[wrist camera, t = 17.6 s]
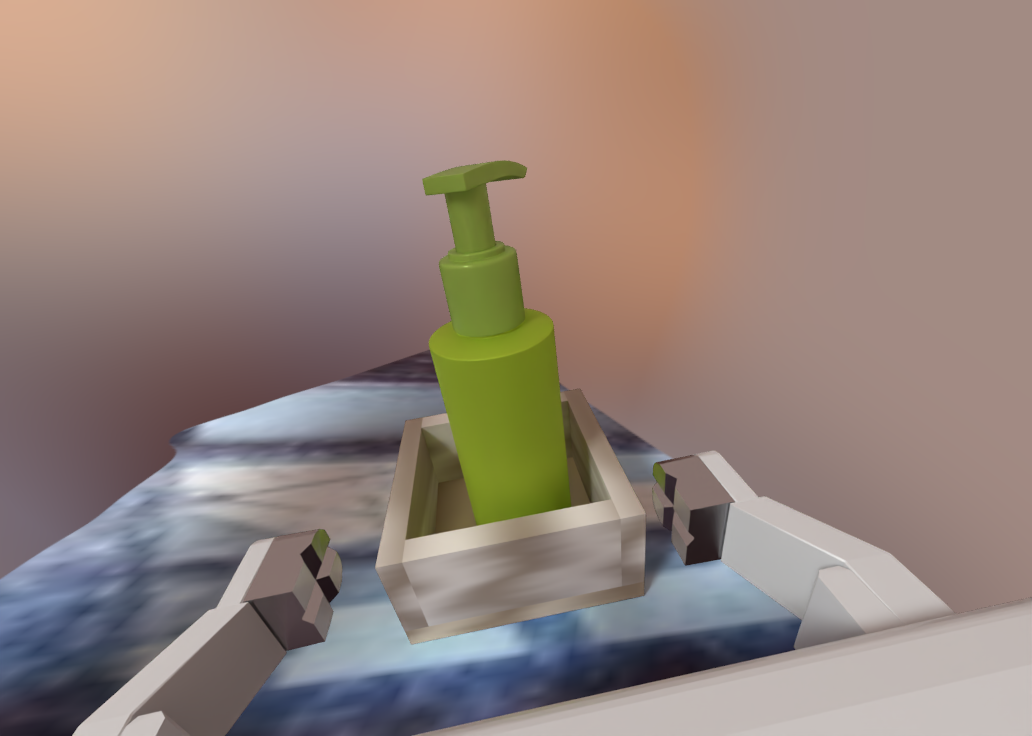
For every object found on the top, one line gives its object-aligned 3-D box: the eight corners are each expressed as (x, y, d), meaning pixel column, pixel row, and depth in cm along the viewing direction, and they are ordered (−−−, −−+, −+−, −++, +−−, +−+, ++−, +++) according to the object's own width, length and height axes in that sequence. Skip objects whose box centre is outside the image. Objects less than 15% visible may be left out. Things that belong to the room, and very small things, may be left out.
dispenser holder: (411, 644, 21) (374, 568, 18) (427, 486, 31) (405, 420, 28) (644, 595, 21) (646, 513, 18) (584, 455, 31) (580, 388, 28)
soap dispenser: (590, 488, 27) (568, 149, 17) (551, 580, 21) (488, 165, 12) (512, 469, 29) (456, 165, 20) (460, 546, 24) (351, 184, 15)
